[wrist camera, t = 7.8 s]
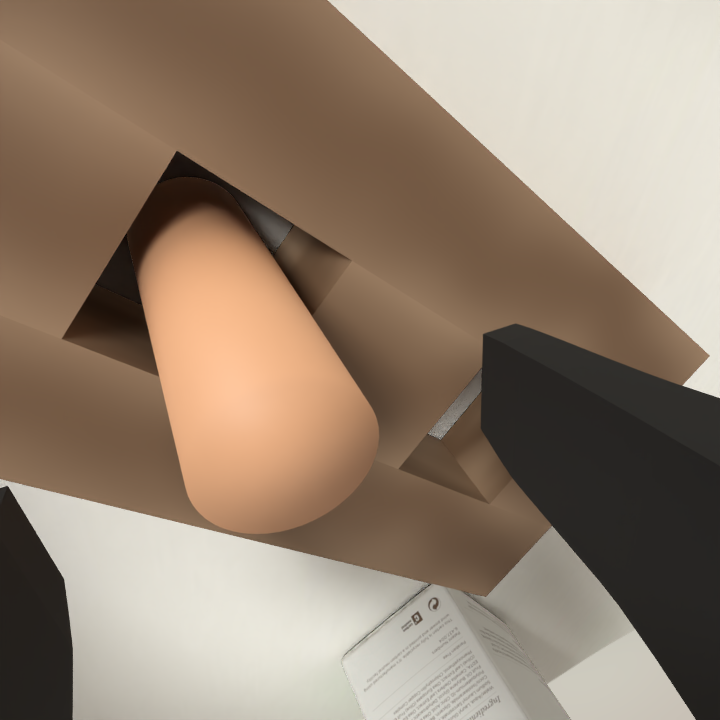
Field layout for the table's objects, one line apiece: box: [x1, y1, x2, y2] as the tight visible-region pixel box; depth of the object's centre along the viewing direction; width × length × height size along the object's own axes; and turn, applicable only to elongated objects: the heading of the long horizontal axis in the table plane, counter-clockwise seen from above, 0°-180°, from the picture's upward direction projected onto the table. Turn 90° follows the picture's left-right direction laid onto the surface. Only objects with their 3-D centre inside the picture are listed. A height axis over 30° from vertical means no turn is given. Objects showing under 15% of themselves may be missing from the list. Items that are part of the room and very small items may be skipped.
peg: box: [127, 177, 379, 534], centre depth 13 cm, size 3×3×9 cm
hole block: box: [0, 0, 709, 597], centre depth 18 cm, size 12×22×4 cm, turn 50°
